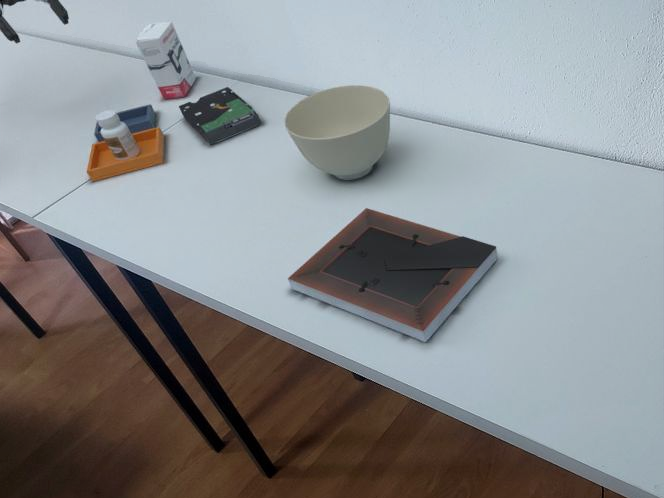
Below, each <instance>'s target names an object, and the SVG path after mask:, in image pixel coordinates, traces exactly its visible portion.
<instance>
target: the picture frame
mask: <svg viewBox="0 0 664 498" xmlns="http://www.w3.org/2000/svg"><path fill="white" fill-rule="evenodd" d="M497 260H498V250H497V246H496V245H494V244H489V243H486V242H483V241H479V240H477V239H473V238H470V237H467V236H460V235H456V234H454V233H450V232H448V231H444V230H441V229H437V228H434V227H430V226H427V225H424V224H420V223H417V222H415V221H410V220H407V219H404V218H400V217H398V216H393V215H390V214H387V213H384V212H382V211H381V212H380V211H377V210H374V209H372V208H371V209H370V208H368V207H366V208H365V209H363V210H362V211H361V212H360V213H359V214H358V215H357V216H356V217H354V218H353V219H352V221H350V222H349V223H348V224H347V225H346V226H344V228H342V229H341V230H340V231H339V232H338V233H337V234H336V235H335V236H333V237H332V238H331V239H330V240H329V241H328V242H327V243H325V244H324V245H323V246H322V247H320V249H319V250H318V251H317V252H315V253H314V254H313V255H312V256H311V257H309V259H308V260H307V261H305V263H303V264H302V265H301V266H300V267H299V268H297V269H296V270H295V271H294V272H293V273H292V274H290V276H289V277H287V281H288V283H289V285H290V287H291V289H292V290H294V291H295V292H298V293H301V294H303V295H306V296H309V297H311V298H314V299H316V300H318V301H321V302H324V303H326V304H329V305H331V306H334V307H336V308H339V309H341V310H344V311H346V312H349V313H351V314H354V315H356V316H358V317H362V318H364V319H366V320H369V321H371V322H374V323H376V324H380V325H381V326H384V327H387V328H389V329H392V330H394V331H396V332H399V333H402V334H404V335H406V336H408V337H409V336H410V337H411V338H414V339H417V340H418V341H419V340H420V341H421V342H424V343H427V341H428V340H429V339H430V338H431V337H432V335H433V334H434V333H435V332H436V331H437V330H438V328H439V327H440V326H441V325H442V324H443V323H444V321H445V320H446V319H447V318H448V317H449V316H450V315H451V313H452V312H454V310H455V309H456V307H457V306H459V304H460V303H461V302H462V300H464V298H465V297H466V296H467V295H468V294H469V292H470V291H471V290H472V289H473V288H474V287H475V285H477V283H478V282H479V281H480V279H482V277H484V275H485V273H487V272H488V270H489V269H490V268H491V267H492V266H493V265H494V263H495V262H496V261H497Z"/></svg>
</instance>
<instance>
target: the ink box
mask: <svg viewBox="0 0 664 498" xmlns="http://www.w3.org/2000/svg"><path fill="white" fill-rule="evenodd" d="M135 44H136V46H137V48H138V50H139V52H140V54H141V56H142V59H143V60H144V61H145V64H146V66H147V68H148V70H149V72H150V74H151V76H152V78H153V80H154V82H155V84H156V86H157V88H158V90H159V93H160V94H161V96H162V98H163V100H170V99H177V98H184V97H187V95H188V93H189V91H190V90H191V87H192V86H193V85H194V83H195V81H196V79H197V77H196V75H195V73H194V69H193V67H192V65H191V63H190V60H189V58H188V56H187V53H186V51H185V49H184V46H183V44H182V42H181V40H180V38H179V35H178V33H177V31H176V28H175V26H174V24H173V22H172V21H165V22H151V23H148V24H147V25H146V26H145V27H144V28H143V30H141V32H140V33H139V35H138V36H137V38H136V40H135Z"/></svg>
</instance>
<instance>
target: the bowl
mask: <svg viewBox="0 0 664 498" xmlns="http://www.w3.org/2000/svg"><path fill="white" fill-rule="evenodd" d="M283 123H284V127H285V130H286V131H287V133H288V135H289V136H290V138H291V139H292V141H293V142H294V144H295V146H296V147H297V148H298V150H299V152H300V153H301V154H302V156H303V157H304V158H305V159H306V160H307V161H308V163H309V164H311V165H312V166H313V167H315V168H316V169H318V170H320V171H322V172H324V173H327V174H330V175H334V176H335V177H336V178H337V179H340V180H343V181H351V180H358V179H360V178H364V177H365V176H366V175H368V174H369V173H370V172H371V171H372V169H373V168H374V164H376V163H377V162H378V161H379V160H380V158H381V157H382V156H383V155H384V153H385V151H386V149H387V146H388V143H389V139H390V131H391V130H390V129H391V102H390V98H389V96H388V94H387V93H385V92H384V91H382V90H381V89H379V88H376V87H373V86H369V85H359V84H358V85H357V84H356V85H355V84H354V85H352V84H351V85H342V86H337V87H331V88H327V89H324V90H320V91H318V92H315V93H313V94H310V95H308V96H307V97H304V98H302V99H301V100H300V101H298V102H297V103H295V104H294V105H293V106H291V108H290V109H289V110H288V111H287V113H286V115H285V116H284V121H283Z"/></svg>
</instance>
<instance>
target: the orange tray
mask: <svg viewBox="0 0 664 498" xmlns="http://www.w3.org/2000/svg"><path fill="white" fill-rule="evenodd" d="M132 136H133V138H134V140H135V141H136V143H137V145H138V147H139V149H140V153H139V155H138V156H136V157H135V158H131V159H128V160H124V161H118V160H116V158H115V157H114V155H113V153H112V152H111V150H110V148H109V147H108V145H107V143H106V142H105V141H102V142H98V141H97V142H95V143H92V144H91V148H90V151H89V156H88V157H89V158H88V162H87V168H86V174H87V175H88V177H89V178H90V180H91V181H92V182H97V181H100V180H105V179H108V178H112V177H116V176H120V175H123V174H124V175H125V174H127V173H131V172H134V171H139V170H142V169H146V168H151V167H154V166H157V165H158V166H159V165H161V164H164V161H165V159H164V158H165V135H164V132H163V130H162V129H161V126H158V127H154V128H153V129H149V130H145V131H141V132H137V133H133V134H132Z"/></svg>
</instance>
